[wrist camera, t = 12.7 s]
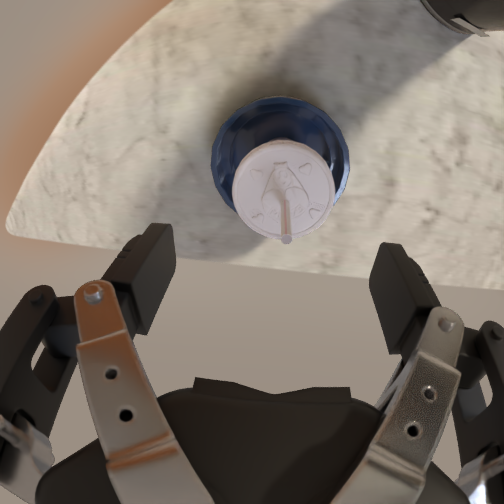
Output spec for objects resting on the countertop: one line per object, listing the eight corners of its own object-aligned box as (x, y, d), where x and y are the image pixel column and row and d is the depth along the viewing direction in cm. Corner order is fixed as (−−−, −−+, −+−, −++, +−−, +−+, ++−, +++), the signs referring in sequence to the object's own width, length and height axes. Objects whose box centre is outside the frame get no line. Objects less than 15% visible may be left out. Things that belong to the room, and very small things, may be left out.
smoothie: (252, 192, 27) (231, 287, 16) (241, 127, 24) (203, 172, 12) (319, 186, 26) (350, 277, 15) (313, 119, 23) (351, 156, 11)
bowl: (199, 130, 25) (185, 138, 21) (307, 76, 21) (313, 74, 18) (255, 223, 30) (251, 246, 26) (355, 181, 26) (367, 198, 23)
